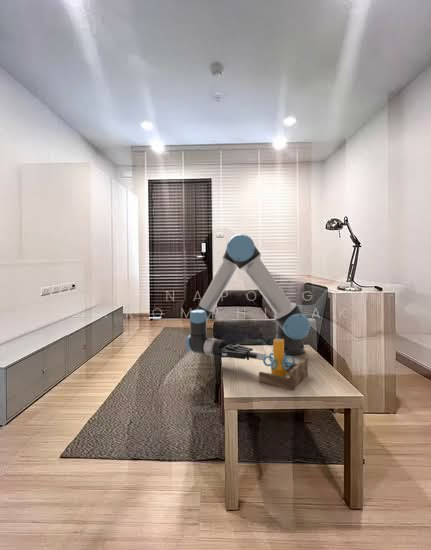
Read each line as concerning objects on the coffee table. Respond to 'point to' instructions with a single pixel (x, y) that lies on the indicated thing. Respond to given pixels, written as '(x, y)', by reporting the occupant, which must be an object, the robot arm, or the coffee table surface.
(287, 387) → the pocket
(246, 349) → the robot arm
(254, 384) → the coffee table surface
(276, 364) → the cylinder
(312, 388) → the coffee table surface
